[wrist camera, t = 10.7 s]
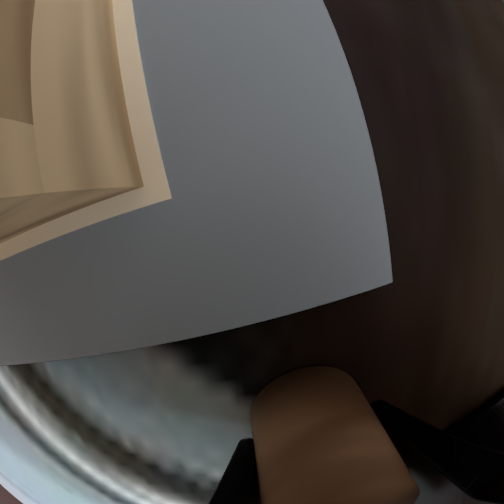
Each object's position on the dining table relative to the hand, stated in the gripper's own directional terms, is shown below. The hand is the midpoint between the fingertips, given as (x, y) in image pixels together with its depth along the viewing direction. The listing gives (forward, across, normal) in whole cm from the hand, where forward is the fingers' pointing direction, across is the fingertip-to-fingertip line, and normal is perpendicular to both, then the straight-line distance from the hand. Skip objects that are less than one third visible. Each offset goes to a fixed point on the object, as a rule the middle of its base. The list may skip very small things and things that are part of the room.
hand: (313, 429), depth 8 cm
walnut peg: (+1, 0, 0) cm, 1 cm away
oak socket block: (0, +6, -12) cm, 13 cm away
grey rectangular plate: (+1, +6, -12) cm, 13 cm away
